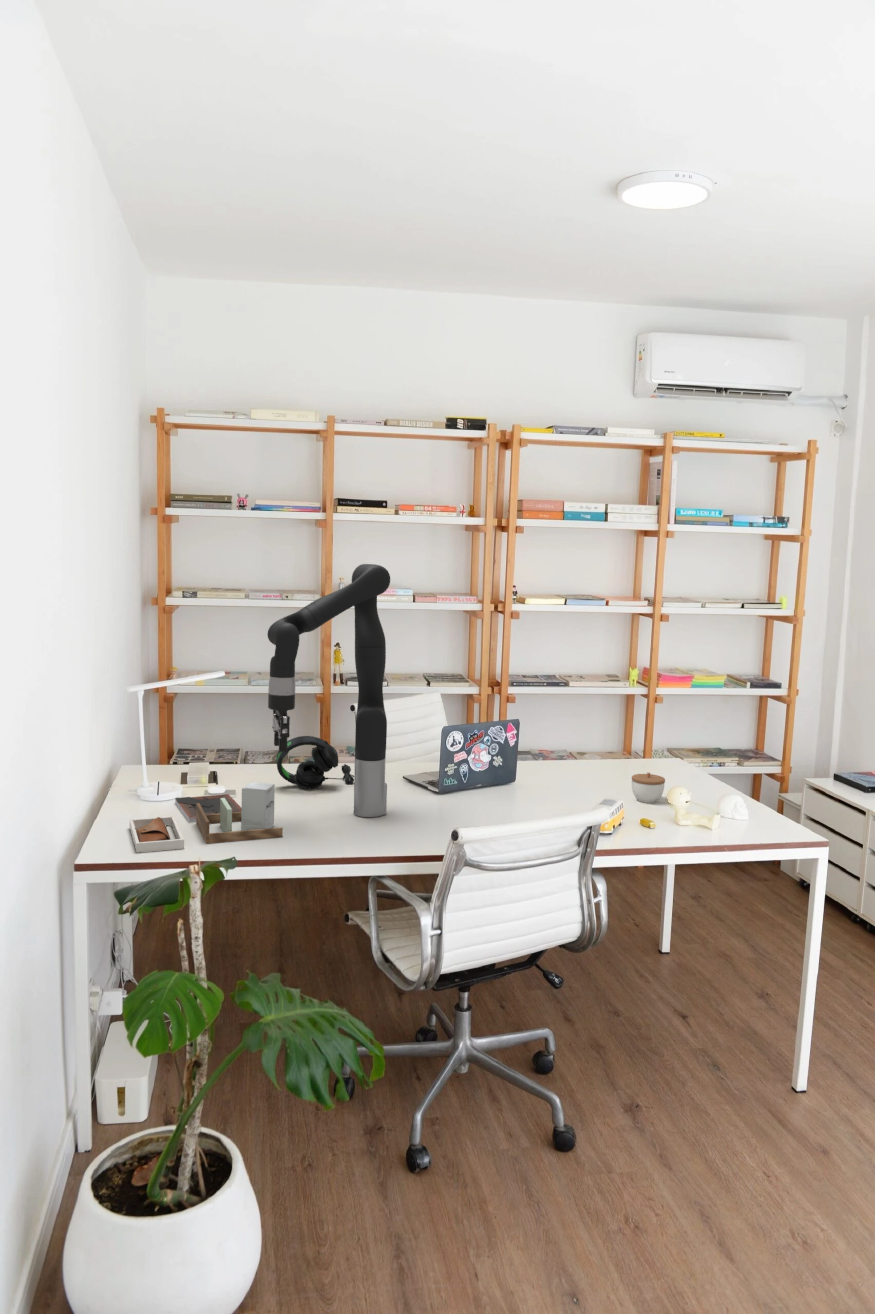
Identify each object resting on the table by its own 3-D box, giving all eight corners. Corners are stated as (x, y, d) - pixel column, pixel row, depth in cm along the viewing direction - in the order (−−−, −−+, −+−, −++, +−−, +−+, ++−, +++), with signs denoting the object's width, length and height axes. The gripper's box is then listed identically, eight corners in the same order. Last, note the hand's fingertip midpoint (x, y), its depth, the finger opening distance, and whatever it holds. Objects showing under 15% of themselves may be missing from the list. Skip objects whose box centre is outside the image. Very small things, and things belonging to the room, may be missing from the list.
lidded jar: (636, 794, 325) (638, 767, 324) (667, 799, 320) (669, 772, 319) (625, 801, 316) (627, 773, 315) (657, 806, 311) (659, 778, 310)
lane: (268, 818, 284) (268, 798, 284) (282, 836, 267) (282, 815, 267) (196, 823, 277) (196, 803, 276) (206, 843, 260) (206, 821, 259)
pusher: (224, 824, 276) (224, 797, 275) (231, 837, 265) (231, 809, 264) (220, 825, 276) (220, 798, 275) (227, 837, 265) (227, 809, 264)
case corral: (174, 824, 275) (174, 816, 275) (184, 848, 255) (184, 839, 254) (129, 828, 270) (129, 819, 270) (136, 852, 250) (136, 843, 250)
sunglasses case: (131, 830, 269) (144, 809, 269) (154, 840, 272) (166, 819, 272) (138, 850, 252) (152, 827, 253) (162, 861, 255) (175, 838, 256)
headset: (339, 810, 325) (266, 777, 311) (334, 784, 337) (264, 751, 322) (370, 773, 320) (298, 739, 306) (364, 748, 331) (294, 714, 317)
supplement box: (265, 833, 270) (265, 789, 268) (240, 831, 271) (240, 787, 270) (274, 826, 277) (275, 783, 275) (250, 823, 278) (251, 781, 277)
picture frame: (175, 805, 297) (189, 825, 277) (175, 797, 296) (189, 816, 277) (228, 800, 304) (245, 819, 284) (228, 793, 304) (245, 811, 284)
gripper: (299, 695, 268) (297, 753, 270) (290, 688, 281) (289, 743, 283) (272, 696, 265) (271, 754, 267) (264, 688, 279) (263, 744, 281)
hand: (280, 748), depth 275 cm, fingers open, 8 cm apart
